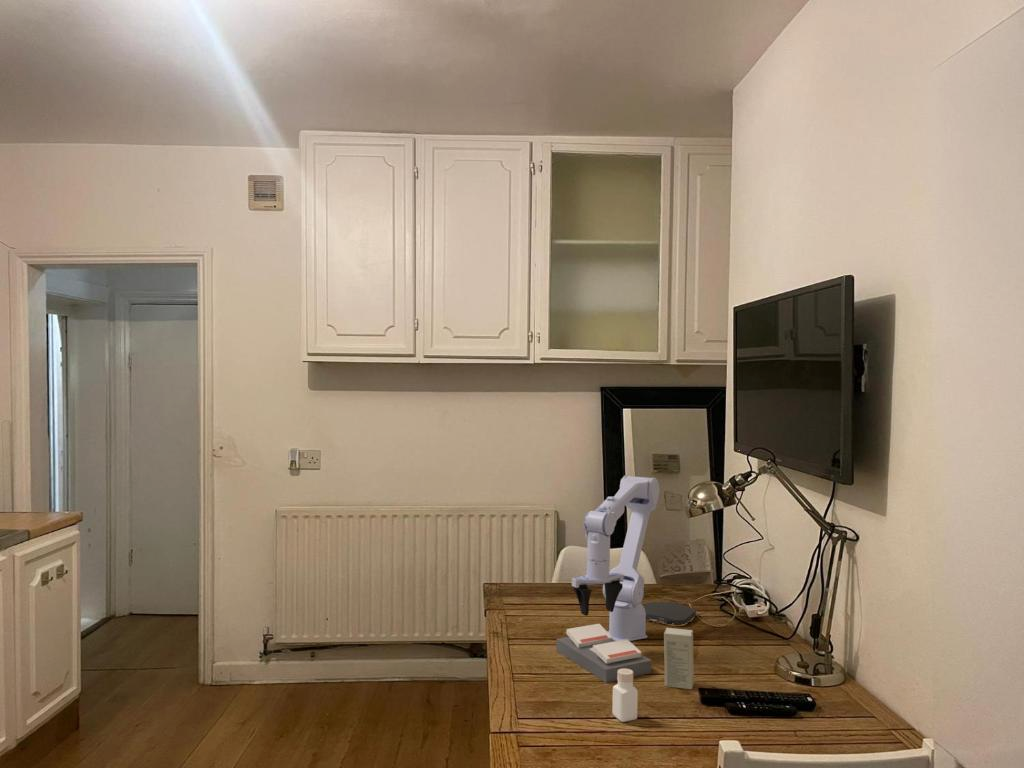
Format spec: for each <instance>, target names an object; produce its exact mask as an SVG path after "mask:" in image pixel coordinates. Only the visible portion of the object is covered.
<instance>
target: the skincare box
mask: <svg viewBox="0 0 1024 768" xmlns="http://www.w3.org/2000/svg"><path fill="white" fill-rule="evenodd" d="M663 646H664V647H663V648H664V649H663V650H664V651H663V653H664V655H663V656H664V659H663V660H664V686H665V687H670V688H678V689H685V690H693V688H694V684H695V683H694V630H692V629H686V628H685V629H684V628H683V629H682V628H677V627H666V628H665V630H664V632H663Z"/></svg>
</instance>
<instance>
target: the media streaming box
mask: <svg viewBox="0 0 1024 768" xmlns="http://www.w3.org/2000/svg"><path fill="white" fill-rule="evenodd" d="M642 605H643V606H644V609H645V612H646V620H651V621H655V622H660V621H664V622H663V623H666V624H672V623H674V625H681V624H685V623H687V622H688V621H690V620H691V619H692V618H693V617H694V616H695V614H696V615H697V609H695V608H694V607H691V606H688V605H685V604H682V603H677V602H673V601H671V602H670V601H651V602H650V601H649V602H647V603H645V604H642Z"/></svg>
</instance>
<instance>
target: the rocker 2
mask: <svg viewBox="0 0 1024 768" xmlns="http://www.w3.org/2000/svg"><path fill="white" fill-rule="evenodd" d="M592 650H593V651H594V652H595V653H596V654H597V655H598V656H599V657H600V658H601V659H602V660H603V661H604V662H605V663H606V664H608V663H613V662H618V661H622V660H627V659H632V658H637V657H641V655H642V651H641V650H640V649H638V647H637V646H636V645H634V644H633V643H632V641H628V640H627V639H625V640H619V641H614V642H609V643H603V644H598V645H593V648H592Z"/></svg>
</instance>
